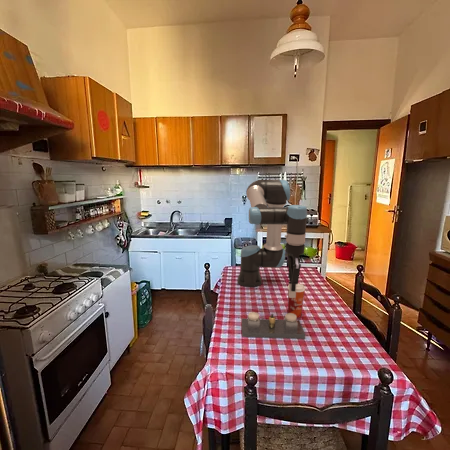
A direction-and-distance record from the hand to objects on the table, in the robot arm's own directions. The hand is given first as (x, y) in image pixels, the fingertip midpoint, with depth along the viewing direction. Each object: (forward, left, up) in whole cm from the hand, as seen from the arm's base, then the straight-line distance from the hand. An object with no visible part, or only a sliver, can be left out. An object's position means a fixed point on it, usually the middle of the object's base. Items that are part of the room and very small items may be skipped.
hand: (292, 297), depth 113 cm
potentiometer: (0, -8, -14) cm, 16 cm away
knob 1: (0, -16, -13) cm, 21 cm away
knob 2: (0, 0, -13) cm, 13 cm away
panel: (0, -8, -16) cm, 18 cm away
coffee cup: (-14, +5, -16) cm, 22 cm away
